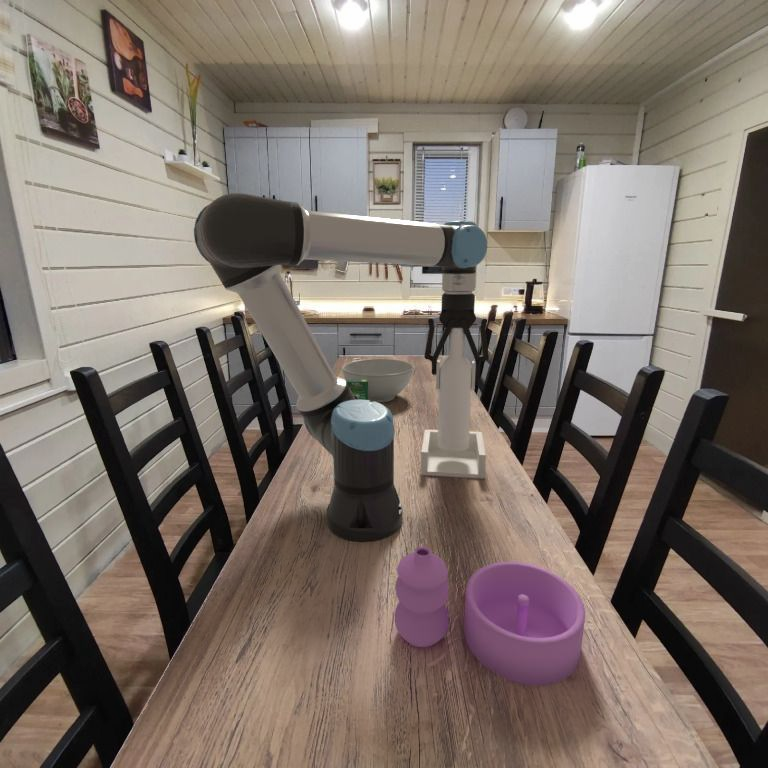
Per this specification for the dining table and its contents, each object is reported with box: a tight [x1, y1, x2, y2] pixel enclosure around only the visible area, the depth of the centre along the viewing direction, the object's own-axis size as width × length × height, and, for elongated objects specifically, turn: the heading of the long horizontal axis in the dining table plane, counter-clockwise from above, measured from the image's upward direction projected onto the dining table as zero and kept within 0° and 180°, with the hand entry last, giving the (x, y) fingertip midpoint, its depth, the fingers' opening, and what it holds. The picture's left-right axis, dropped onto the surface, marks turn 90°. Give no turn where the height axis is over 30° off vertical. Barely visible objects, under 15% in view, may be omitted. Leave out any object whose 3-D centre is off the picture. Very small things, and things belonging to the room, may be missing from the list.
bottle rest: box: [420, 429, 486, 480], centre depth 116 cm, size 15×15×6 cm
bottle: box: [437, 328, 472, 452], centre depth 111 cm, size 8×8×30 cm
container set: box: [394, 546, 586, 687], centre depth 62 cm, size 25×15×13 cm, turn 87°
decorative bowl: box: [341, 358, 415, 403], centre depth 171 cm, size 27×27×12 cm
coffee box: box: [346, 380, 368, 400], centre depth 148 cm, size 8×3×13 cm, turn 99°
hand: (455, 387), depth 111 cm, fingers closed on bottle, 8 cm apart
